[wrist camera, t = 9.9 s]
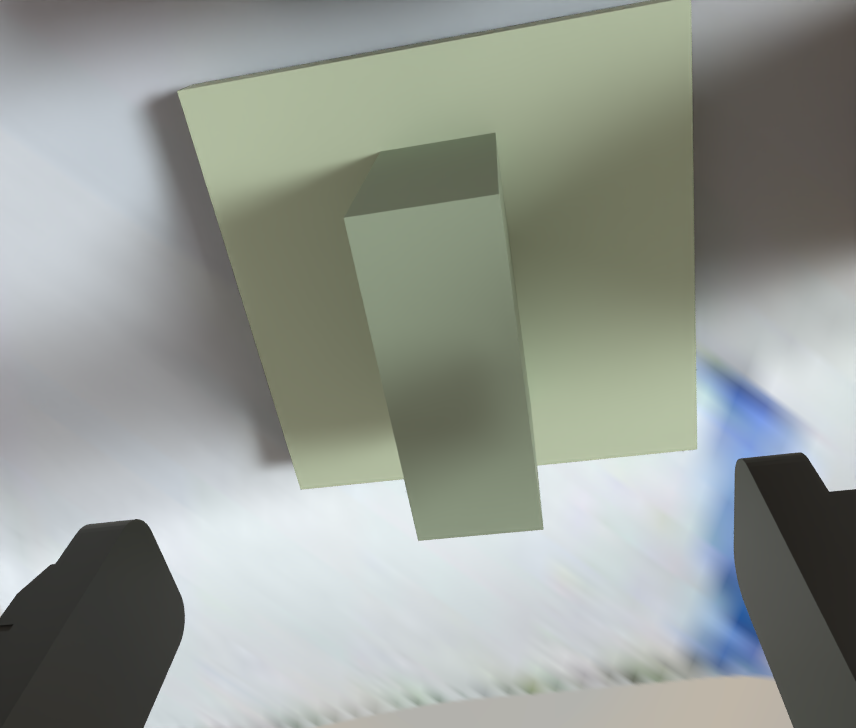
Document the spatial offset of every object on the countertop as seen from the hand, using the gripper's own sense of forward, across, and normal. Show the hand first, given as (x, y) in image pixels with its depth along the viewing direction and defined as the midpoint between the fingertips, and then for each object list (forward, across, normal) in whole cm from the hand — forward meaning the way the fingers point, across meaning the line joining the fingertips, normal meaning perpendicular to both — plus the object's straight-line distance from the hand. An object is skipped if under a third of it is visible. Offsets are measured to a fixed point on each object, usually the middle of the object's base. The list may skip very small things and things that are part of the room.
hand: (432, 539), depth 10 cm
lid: (+10, 0, 0) cm, 10 cm away
